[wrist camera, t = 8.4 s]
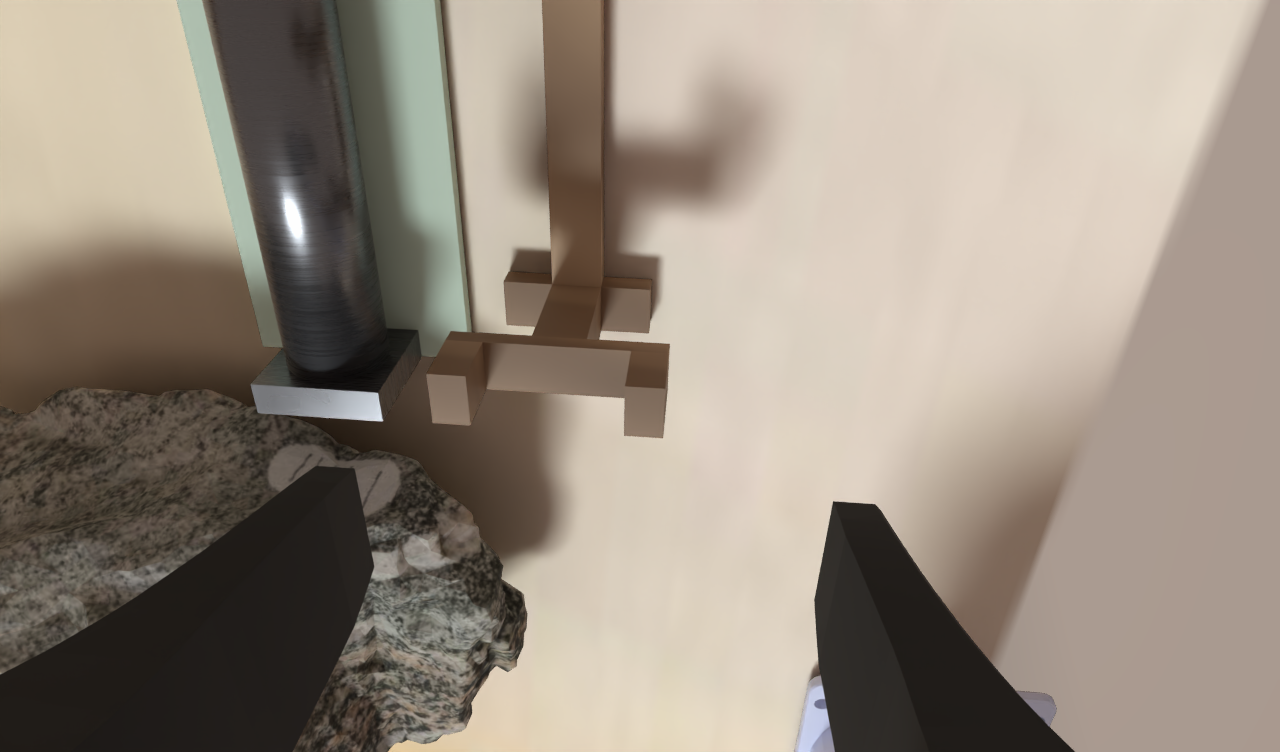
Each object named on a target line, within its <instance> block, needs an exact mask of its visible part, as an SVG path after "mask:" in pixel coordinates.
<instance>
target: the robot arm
mask: <svg viewBox="0 0 1280 752" xmlns="http://www.w3.org/2000/svg"><path fill="white" fill-rule="evenodd" d="M373 570H374V562H373V557H372V552H371V547H370V542H369V537H368V532H367V527H366V522H365V517H364V512H363V507H362V502H361V497H360V492H359V487H358V482H357V477H356V472H355V468H341V467H327V466H315V467H313V468H312V469H311V470H309V471H308V472H306V473H305V474H304V475H302V476H301V477H300V478H298V479H297V480H296V481H294V482H293V483H292V484H290V485H289V486H288V487H286V488H285V489H284V490H282V491H281V492H280V493H278V494H277V495H276V496H275V497H273V498H272V499H271V500H269V501H268V502H267V503H265V504H264V505H263V506H262V507H260V508H259V509H258V510H256V511H255V512H254V513H252V514H251V515H250V516H249V517H247V518H246V519H245V520H243V521H242V522H241V523H239V524H238V525H237V526H235V527H234V528H233V529H231V530H230V531H229V532H227V533H226V534H225V535H223V536H222V537H221V538H219V539H218V540H217V541H215V542H214V543H213V544H211V545H210V546H209V547H207V548H206V549H204V550H203V551H202V552H200V553H199V554H198V555H196V556H195V557H193V558H192V559H190V560H189V561H187V562H186V563H184V564H183V565H182V566H180V567H179V568H177V569H176V570H174V571H173V572H171V573H170V574H169V575H167V576H166V577H164V578H163V579H161V580H160V581H158V582H157V583H155V584H154V585H153V586H151V587H150V588H148V589H147V590H145V591H144V592H142V593H141V594H139V595H138V596H137V597H135V598H133V599H132V600H130V601H129V602H127V603H126V604H124V605H123V606H121V607H119V608H118V609H116V610H115V611H113V612H111V613H110V614H108V615H106V616H105V617H103V618H102V619H100V620H98V621H97V622H95V623H93V624H91V625H90V626H88V627H86V628H85V629H83V630H81V631H80V632H78V633H76V634H74V635H73V636H71V637H69V638H68V639H66V640H64V641H63V642H61V643H59V644H57V645H55V646H54V647H52V648H50V649H48V650H46V651H45V652H43V653H41V654H39V655H37V656H35V657H33V658H31V659H29V660H27V661H25V662H23V663H22V664H20V665H18V666H16V667H14V668H12V669H10V670H8V671H6V672H4V673H2V674H0V752H293V750H294V748H295V746H296V744H297V742H298V740H299V738H300V736H301V734H302V732H303V730H304V728H305V726H306V724H307V722H308V720H309V718H310V716H311V714H312V712H313V710H314V708H315V706H316V704H317V702H318V700H319V698H320V696H321V694H322V692H323V690H324V688H325V686H326V684H327V682H328V680H329V678H330V676H331V674H332V672H333V670H334V668H335V666H336V664H337V662H338V660H339V658H340V656H341V654H342V651H343V649H344V647H345V645H346V643H347V641H348V639H349V637H350V635H351V633H352V631H353V629H354V626H355V623H356V620H357V618H358V615H359V612H360V609H361V606H362V604H363V601H364V598H365V595H366V592H367V589H368V586H369V582H370V579H371V576H372V573H373ZM814 601H815V618H816V634H817V648H818V661H819V669H820V674H821V676H817V677H814V678H813V679H811V680H810V681H809V683H808V687H807V692H806V697H805V702H804V707H803V712H802V717H801V722H800V727H799V732H798V737H797V742H796V747H795V752H1074V750H1073V749H1071V748H1070V747H1069V746H1068V745H1067V744H1066V743H1065V742H1064V741H1063V740H1062V739H1061V738H1060V737H1059V736H1058V735H1057V734H1056V733H1055V732H1054V731H1053V730H1052V729H1051V728H1050V725H1051V722H1052V720H1053V718H1054V716H1055V714H1056V709H1057V708H1056V705H1055V703H1054V700H1053V699H1052V697H1051V696H1049V695H1047V694H1044V693H1037V692H1025V691H1015V690H1014V689H1013V687H1012V686H1011V685H1010V684H1009V683H1008V682H1007V681H1006V680H1005V679H1004V677H1003V676H1002V675H1001V674H1000V673H999V671H998V670H997V669H996V668H995V667H994V666H993V664H992V663H991V662H990V661H989V660H988V658H987V657H986V656H985V655H984V654H983V652H982V651H981V650H980V649H979V648H978V646H977V645H976V644H975V643H974V642H973V640H972V639H971V638H970V636H969V635H968V634H967V633H966V631H965V630H964V629H963V628H962V626H961V625H960V624H959V623H958V621H957V620H956V619H955V617H954V616H953V615H952V613H951V612H950V611H949V609H948V608H947V606H946V605H945V604H944V602H943V601H942V600H941V598H940V597H939V596H938V594H937V593H936V592H935V590H934V589H933V588H932V586H931V585H930V584H929V582H928V581H927V579H926V578H925V576H924V575H923V574H922V572H921V571H920V569H919V568H918V566H917V565H916V563H915V562H914V561H913V559H912V558H911V556H910V555H909V553H908V552H907V550H906V549H905V547H904V546H903V544H902V543H901V541H900V540H899V538H898V537H897V535H896V533H895V532H894V530H893V529H892V527H891V526H890V524H889V523H888V521H887V519H886V518H885V516H884V515H883V513H882V512H881V510H880V509H879V508H878V507H877V506H876V505H875V504H863V503H848V502H834V501H833V505H832V511H831V516H830V521H829V526H828V532H827V537H826V542H825V547H824V553H823V558H822V563H821V568H820V574H819V579H818V584H817V589H816V595H815V600H814Z"/></svg>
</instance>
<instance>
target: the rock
mask: <svg viewBox="0 0 1280 752" xmlns="http://www.w3.org/2000/svg"><path fill="white" fill-rule="evenodd" d="M315 466H327V467H341V468H355V472H356V477H357V482H358V487H359V492H360V497H361V502H362V507H363V512H364V517H365V522H366V527H367V532H368V537H369V542H370V547H371V552H372V557H373V562H374V570H373V573H372V576H371V579H370V582H369V586H368V589H367V592H366V595H365V598H364V601H363V604H362V606H361V609H360V612H359V615H358V618H357V620H356V623H355V626H354V629H353V631H352V633H351V635H350V637H349V639H348V641H347V643H346V645H345V647H344V649H343V651H342V654H341V656H340V658H339V660H338V662H337V664H336V666H335V668H334V670H333V672H332V674H331V676H330V678H329V680H328V682H327V684H326V686H325V688H324V690H323V692H322V694H321V696H320V698H319V700H318V702H317V704H316V706H315V708H314V710H313V712H312V714H311V716H310V718H309V720H308V722H307V724H306V726H305V728H304V730H303V732H302V734H301V736H300V738H299V740H298V742H297V744H296V746H295V748H294V750H293V752H388V751H389V749H390V748H391V747H392V746H393V745H394V744H395V743H397V742H399V743H402V742H404V741H406V740H410V741H414V742H417V743H420V744H426V743H431V742H434V741H437V740H438V739H439V738H440V737H441V736H442V735H443V734H452V733H456V732H460V731H462V730H464V729H465V728H466V726H467V724H468V721H469V719H470V717H471V715H472V705H471V702H472V701H473V699H474V697H475V696H476V694H477V692H478V691H479V689H480V688H481V686H482V685H483V684H484V682H485V681H486V679H487V678H488V675H489V673H490V671H491V670H492V669H493V668H494V667H495V666H498V667H500V668H501V669H503V670H505V671H507V672H508V671H510V670H512V669H513V668H515V667H516V666H517V659H518V657H519V654H520V652H521V650H522V648H523V643H524V632H525V630H526V626H527V611H526V608H525V601H524V595H523V593H522V592H520V591H519V590H517V589H516V588H514V587H513V586H511V585H510V584H508V583H507V582H505V581H504V580H502V579H501V576H502V569H503V565H502V564H501V563H500V560H499V557H498V555H497V554H496V553H495V552H494V551H493V550H492V549H491V548H490V546H489V545H488V544H487V543H485V542H484V541H483V540H482V539H481V537H480V536H479V527H478V526H477V525H475V524H474V521H473V515H472V513H471V512H470V511H469V510H468V509H467V508H466V507H465V506H463V505H462V504H461V503H460V502H458V501H457V500H456V499H454V498H453V497H452V496H450V495H449V494H448V493H446V492H445V491H444V490H443V489H441V488H440V487H439V486H438V485H437V484H435V483H434V482H433V481H432V480H431V479H430V478H429V477H428V475H427V473H426V472H425V470H424V468H423V467H422V465H421V464H420V463H419V462H418V461H417V460H415V459H412V458H409V457H406V456H403V455H399V454H394V453H389V452H384V451H379V450H372V451H368V452H365V453H361V452H358V451H357V450H355V449H353V448H352V447H350V446H348V445H343V444H338V443H337V442H336V441H335V440H334V439H333V438H332V437H331V436H330V435H329V434H327V433H326V432H324V431H323V430H321V429H320V428H318V427H316V426H314V425H312V424H310V423H307V422H305V421H303V420H300V419H296V418H291V417H287V416H284V415H279V414H264V413H258V412H257V408H256V406H252V407H248V406H246V405H244V404H243V403H241V402H239V401H237V400H235V399H233V398H230V397H228V396H225V395H222V394H220V393H217V392H215V391H212V390H209V389H200V390H173V391H168V392H164V393H162V394H161V395H160V396H155V395H148V394H142V393H136V392H130V391H120V390H108V389H88V388H81V387H73V388H69V389H64V390H60V391H58V392H57V393H55V394H53V395H52V396H50V397H49V398H47V399H46V400H44V401H43V402H42V403H41V404H40V405H39V406H38V407H37V409H36V410H35V411H33V412H29V413H25V414H15V413H14V412H13V411H12V410H11V409H8V408H5V407H1V406H0V674H2V673H4V672H6V671H8V670H10V669H12V668H14V667H16V666H18V665H20V664H22V663H23V662H25V661H27V660H29V659H31V658H33V657H35V656H37V655H39V654H41V653H43V652H45V651H46V650H48V649H50V648H52V647H54V646H55V645H57V644H59V643H61V642H63V641H64V640H66V639H68V638H69V637H71V636H73V635H74V634H76V633H78V632H80V631H81V630H83V629H85V628H86V627H88V626H90V625H91V624H93V623H95V622H97V621H98V620H100V619H102V618H103V617H105V616H106V615H108V614H110V613H111V612H113V611H115V610H116V609H118V608H119V607H121V606H123V605H124V604H126V603H127V602H129V601H130V600H132V599H133V598H135V597H137V596H138V595H139V594H141V593H142V592H144V591H145V590H147V589H148V588H150V587H151V586H153V585H154V584H155V583H157V582H158V581H160V580H161V579H163V578H164V577H166V576H167V575H169V574H170V573H171V572H173V571H174V570H176V569H177V568H179V567H180V566H182V565H183V564H184V563H186V562H187V561H189V560H190V559H192V558H193V557H195V556H196V555H198V554H199V553H200V552H202V551H203V550H204V549H206V548H207V547H209V546H210V545H211V544H213V543H214V542H215V541H217V540H218V539H219V538H221V537H222V536H223V535H225V534H226V533H227V532H229V531H230V530H231V529H233V528H234V527H235V526H237V525H238V524H239V523H241V522H242V521H243V520H245V519H246V518H247V517H249V516H250V515H251V514H252V513H254V512H255V511H256V510H258V509H259V508H260V507H262V506H263V505H264V504H265V503H267V502H268V501H269V500H271V499H272V498H273V497H275V496H276V495H277V494H278V493H280V492H281V491H282V490H284V489H285V488H286V487H288V486H289V485H290V484H292V483H293V482H294V481H296V480H297V479H298V478H300V477H301V476H302V475H304V474H305V473H306V472H308V471H309V470H311V469H312V468H313V467H315Z"/></svg>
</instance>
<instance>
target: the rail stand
mask: <svg viewBox="0 0 1280 752" xmlns="http://www.w3.org/2000/svg"><path fill="white" fill-rule="evenodd" d="M542 14H543V42H544V70H545V98H546V126H547V154H548V181H549V209H550V237H551V265H552V274H544V273H526V272H508V274H507V276H506V278H505V280H504V293H505V308H506V322H507V325H516V326H533V327H535V330H534V332H533V335H532V336H526V335H509V334H492V333H475V332H459V331H450V333H449V335H448V336H447V338H446V340H445V342H444V343H443V345H442V347H441V349H440V350H439V352H438V354H437V356H436V357H435V359H434V361H433V363H432V364H431V366H430V368H429V370H428V371H427V373H426V377H427V385H428V392H429V400H430V407H431V415H432V422H433V423H439V424H455V425H470V426H471V423H472V421H473V419H474V416H475V414H476V412H477V410H478V407H479V405H480V403H481V401H482V398H483V396H484V394H485V391H486V389H490V390H506V391H522V392H538V393H554V394H570V395H585V396H601V397H617V398H625V411H624V436H638V437H653V438H663V433H664V422H665V411H666V401H667V389H668V369H669V348H670V344H661V343H644V342H627V341H610V340H599V337H600V333H601V331H618V332H636V333H649V328H650V318H651V289H652V279H635V278H617V277H604V0H542Z"/></svg>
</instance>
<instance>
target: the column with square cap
mask: <svg viewBox="0 0 1280 752" xmlns="http://www.w3.org/2000/svg"><path fill="white" fill-rule="evenodd" d="M202 3H203V7H204V11H205V16H206V20H207V24H208V29H209V33H210V37H211V41H212V46H213V50H214V54H215V59H216V63H217V67H218V71H219V76H220V80H221V84H222V89H223V93H224V97H225V101H226V106H227V110H228V114H229V119H230V123H231V127H232V131H233V136H234V140H235V144H236V149H237V153H238V157H239V162H240V166H241V170H242V174H243V179H244V183H245V187H246V192H247V196H248V200H249V204H250V209H251V213H252V217H253V222H254V226H255V230H256V234H257V239H258V243H259V247H260V252H261V256H262V260H263V264H264V269H265V273H266V277H267V282H268V286H269V290H270V294H271V299H272V303H273V307H274V312H275V316H276V320H277V325H278V329H279V333H280V337H281V342H282V346H283V349H282V350H281V351H280V352H279V353H278V354H277V355H276V356H275V358H274V359H273V360H272V361H271V362H270V363H269V364H268V365H267V366H266V368H265V369H264V370H263V371H262V372H261V373H260V374H259V375H258V376H257V378H256V379H255V380H254V381H253V382H252V383H251V384H250V385H251V389H252V393H253V396H254V400H255V404H256V408H257V412H258V413H264V414H279V415H293V416H308V417H323V418H338V419H353V420H367V421H382V422H383V421H384V419H385V417H386V416H387V414H388V412H389V411H390V409H391V407H392V406H393V404H394V402H395V401H396V399H397V397H398V396H399V394H400V392H401V391H402V389H403V387H404V386H405V384H406V382H407V381H408V379H409V377H410V376H411V374H412V372H413V371H414V369H415V367H416V366H417V364H418V362H419V361H420V359H421V357H422V354H421V347H420V339H419V332H418V330H409V329H392V328H387V326H386V320H385V314H384V307H383V301H382V294H381V288H380V281H379V275H378V268H377V262H376V255H375V249H374V242H373V236H372V229H371V223H370V216H369V210H368V203H367V197H366V191H365V184H364V178H363V171H362V165H361V158H360V152H359V145H358V139H357V132H356V126H355V119H354V113H353V106H352V100H351V93H350V87H349V81H348V74H347V68H346V61H345V55H344V48H343V42H342V35H341V29H340V22H339V16H338V9H337V3H336V0H202Z"/></svg>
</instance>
